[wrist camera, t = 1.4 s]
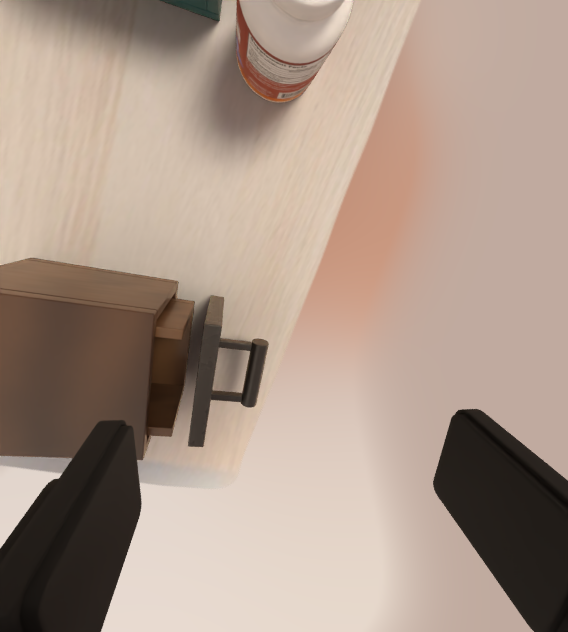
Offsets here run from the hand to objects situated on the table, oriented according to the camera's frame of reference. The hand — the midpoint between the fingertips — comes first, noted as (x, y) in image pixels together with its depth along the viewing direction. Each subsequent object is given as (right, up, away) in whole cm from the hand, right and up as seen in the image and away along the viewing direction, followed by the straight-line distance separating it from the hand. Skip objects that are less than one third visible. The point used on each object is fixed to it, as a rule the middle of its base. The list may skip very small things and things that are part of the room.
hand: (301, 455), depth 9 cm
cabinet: (-17, +3, +19) cm, 25 cm away
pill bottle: (-1, +24, +14) cm, 28 cm away
